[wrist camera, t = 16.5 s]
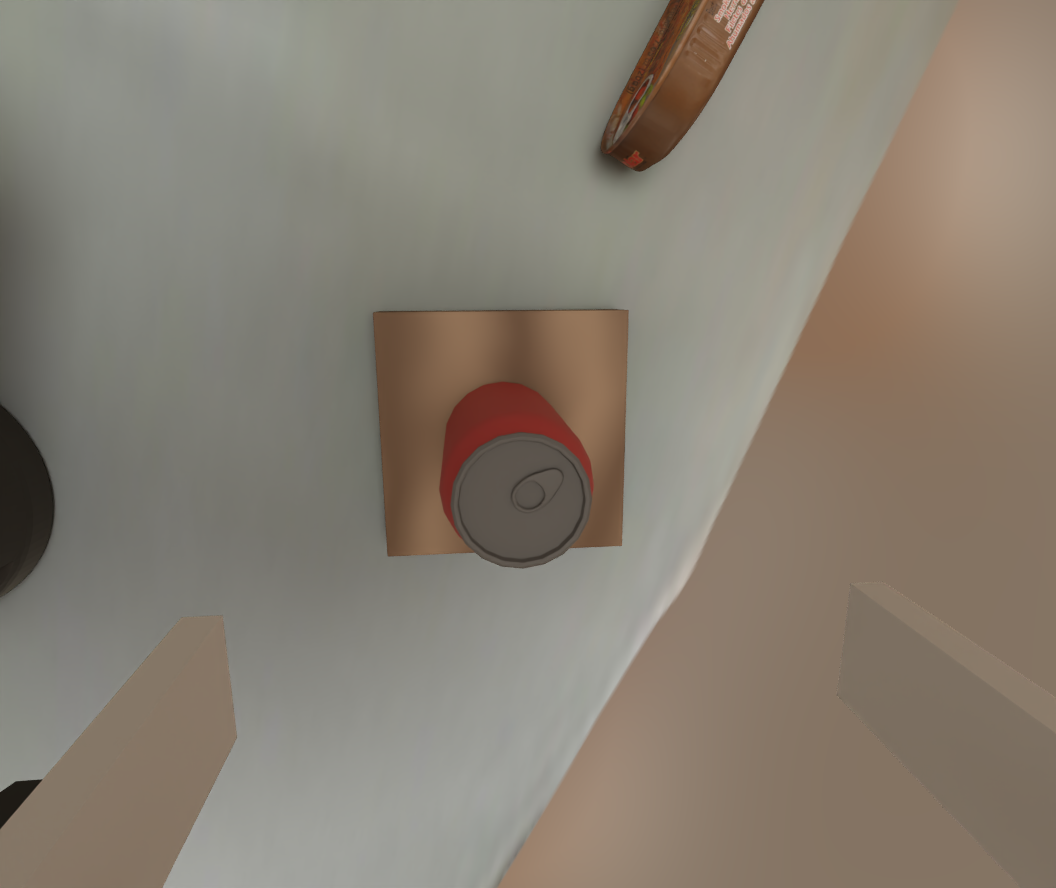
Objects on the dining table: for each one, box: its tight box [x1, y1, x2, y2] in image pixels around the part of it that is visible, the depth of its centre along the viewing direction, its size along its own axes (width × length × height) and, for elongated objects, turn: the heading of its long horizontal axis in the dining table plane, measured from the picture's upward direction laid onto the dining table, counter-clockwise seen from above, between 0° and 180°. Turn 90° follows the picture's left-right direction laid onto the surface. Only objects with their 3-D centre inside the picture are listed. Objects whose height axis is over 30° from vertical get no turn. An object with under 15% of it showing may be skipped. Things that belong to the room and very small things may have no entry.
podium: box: [373, 309, 629, 556], centre depth 38 cm, size 14×14×3 cm
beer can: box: [439, 382, 594, 568], centre depth 31 cm, size 7×7×12 cm
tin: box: [601, 0, 764, 171], centre depth 32 cm, size 15×3×8 cm, turn 151°
